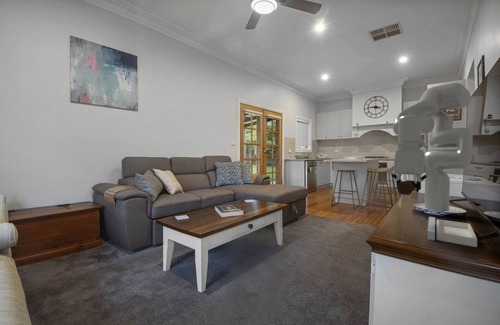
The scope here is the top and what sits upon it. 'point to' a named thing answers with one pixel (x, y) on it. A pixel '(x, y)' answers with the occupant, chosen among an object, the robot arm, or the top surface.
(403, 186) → the dark brown dumbbell
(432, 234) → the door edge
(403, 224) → the top surface
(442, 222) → the tray
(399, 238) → the top surface
